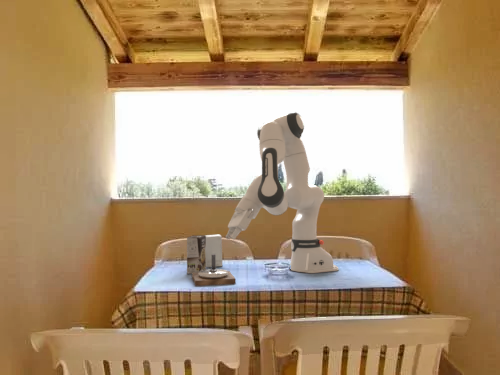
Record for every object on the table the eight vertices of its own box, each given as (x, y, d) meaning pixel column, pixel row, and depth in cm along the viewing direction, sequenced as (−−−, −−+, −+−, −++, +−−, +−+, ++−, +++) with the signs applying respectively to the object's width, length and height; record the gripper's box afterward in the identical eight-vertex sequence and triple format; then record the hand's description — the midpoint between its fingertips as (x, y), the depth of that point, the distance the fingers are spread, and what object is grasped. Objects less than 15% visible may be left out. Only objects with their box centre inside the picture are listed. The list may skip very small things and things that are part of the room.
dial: (227, 278, 179) (227, 258, 179) (197, 278, 179) (197, 258, 179) (228, 272, 191) (227, 253, 191) (199, 272, 191) (199, 253, 191)
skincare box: (220, 264, 220) (220, 234, 220) (222, 266, 214) (222, 235, 214) (203, 265, 218) (203, 234, 218) (205, 267, 212) (204, 236, 212)
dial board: (229, 275, 195) (229, 270, 195) (235, 283, 180) (235, 278, 180) (192, 277, 191) (192, 272, 191) (195, 285, 177) (195, 280, 176)
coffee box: (200, 274, 197) (200, 237, 197) (186, 273, 199) (186, 237, 198) (206, 270, 206) (206, 235, 206) (193, 269, 208) (192, 234, 207)
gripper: (260, 212, 173) (242, 243, 170) (247, 215, 193) (230, 242, 190) (247, 203, 172) (228, 234, 169) (235, 207, 192) (218, 234, 189)
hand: (229, 238), depth 180 cm, fingers open, 8 cm apart
